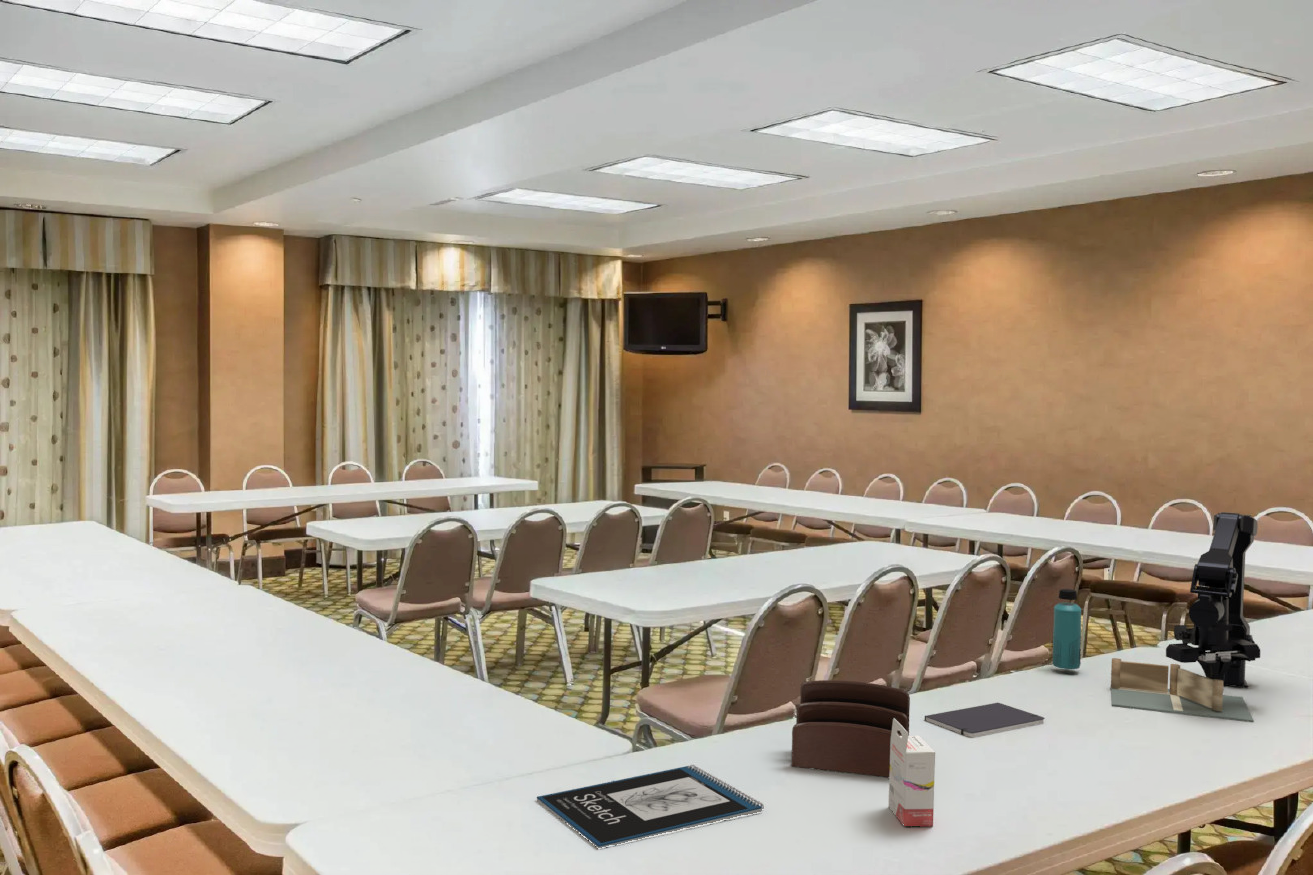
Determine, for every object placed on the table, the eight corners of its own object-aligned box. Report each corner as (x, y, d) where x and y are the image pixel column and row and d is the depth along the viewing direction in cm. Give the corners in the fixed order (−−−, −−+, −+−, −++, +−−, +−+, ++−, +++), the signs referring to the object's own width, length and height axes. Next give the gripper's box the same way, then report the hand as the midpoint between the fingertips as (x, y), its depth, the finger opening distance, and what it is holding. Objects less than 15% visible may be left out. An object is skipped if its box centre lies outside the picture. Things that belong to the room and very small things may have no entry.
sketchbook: (536, 805, 178) (536, 792, 178) (693, 774, 194) (693, 762, 193) (598, 853, 160) (598, 839, 160) (766, 815, 175) (767, 802, 175)
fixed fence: (1110, 688, 252) (1111, 657, 252) (1178, 695, 247) (1180, 664, 246) (1110, 690, 250) (1111, 659, 250) (1179, 697, 245) (1180, 666, 245)
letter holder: (799, 750, 206) (801, 675, 205) (908, 762, 200) (910, 685, 199) (790, 767, 196) (792, 689, 195) (905, 781, 191) (907, 700, 190)
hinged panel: (1174, 694, 245) (1175, 666, 244) (1182, 694, 245) (1183, 666, 245) (1216, 711, 232) (1217, 682, 232) (1224, 710, 233) (1225, 681, 232)
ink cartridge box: (935, 827, 170) (937, 733, 169) (903, 828, 170) (906, 733, 169) (917, 806, 179) (919, 716, 178) (887, 806, 178) (889, 716, 177)
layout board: (1110, 684, 255) (1111, 682, 255) (1242, 698, 245) (1242, 696, 245) (1111, 706, 238) (1111, 703, 238) (1253, 722, 228) (1253, 719, 228)
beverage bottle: (1082, 676, 262) (1085, 592, 261) (1053, 674, 263) (1056, 591, 262) (1077, 669, 268) (1080, 587, 267) (1049, 667, 270) (1052, 586, 269)
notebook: (998, 709, 236) (924, 723, 225) (998, 702, 236) (924, 715, 225) (1046, 725, 225) (971, 740, 214) (1046, 718, 225) (971, 732, 214)
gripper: (1227, 608, 246) (1227, 678, 247) (1150, 613, 243) (1150, 683, 244) (1262, 619, 235) (1261, 691, 236) (1182, 624, 232) (1181, 697, 233)
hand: (1212, 690), depth 238 cm, fingers closed
